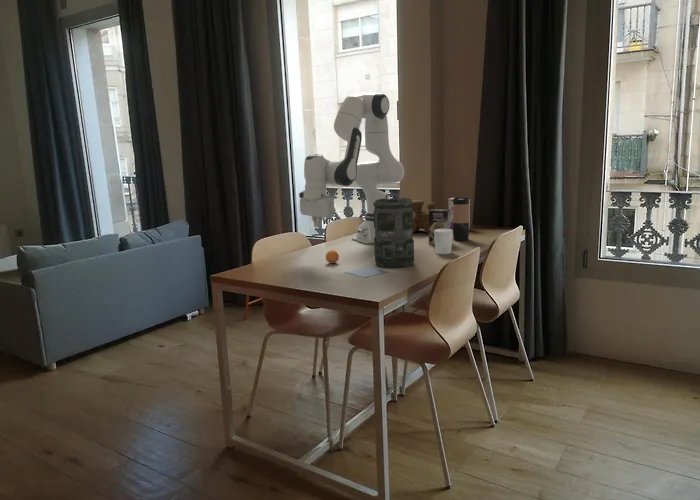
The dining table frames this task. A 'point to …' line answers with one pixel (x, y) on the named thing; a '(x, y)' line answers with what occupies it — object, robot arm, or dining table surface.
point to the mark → (366, 272)
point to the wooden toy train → (421, 215)
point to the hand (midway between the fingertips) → (317, 226)
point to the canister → (393, 232)
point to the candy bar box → (450, 207)
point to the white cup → (443, 241)
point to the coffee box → (438, 222)
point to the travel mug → (460, 219)
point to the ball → (332, 256)
